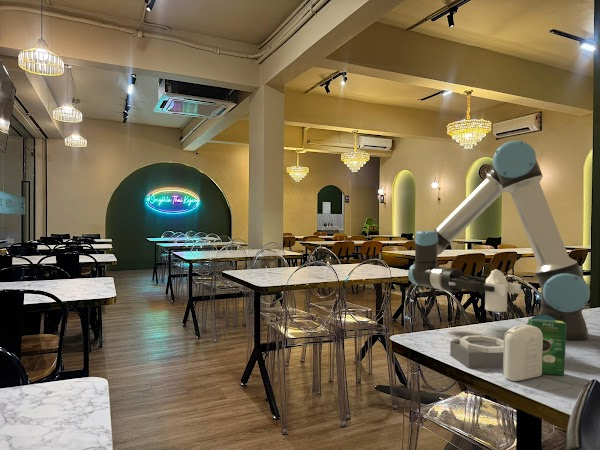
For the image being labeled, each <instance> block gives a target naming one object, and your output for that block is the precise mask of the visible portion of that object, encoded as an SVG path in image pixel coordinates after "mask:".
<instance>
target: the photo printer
mask: <svg viewBox="0 0 600 450" xmlns="http://www.w3.org/2000/svg"><path fill="white" fill-rule="evenodd" d="M503 340H504V349H503V367H502V375H503V377H504V378H505V379H507V380H509V381H512V382H519V381H525V380H528V379H533V378H538V377H540V376H542V375H543V374H542V350H543V334H542V332H541V330H540V329H539V328H537V327H535V326H531V325H527V324H520V325H516V326H512V327H511V328H510V329H508V330H506V331H505V332H504V335H503Z"/></svg>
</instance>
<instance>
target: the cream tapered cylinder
mask: <svg viewBox="0 0 600 450" xmlns="http://www.w3.org/2000/svg"><path fill="white" fill-rule="evenodd" d="M503 273H504V272H502V271H501V270H499V269H498V268H497V269H494V270H491V271H490V274H489V276H487V277H486V278H487V279H486V283H491V284H498V285H504V286H507V290H508V283H509V282H508V279H506V277H505V276H504V274H503ZM507 282H508V283H507ZM484 294H485V295H484V310H486V311H488V312H489V311H490V312H495V313H496V312H498V313H502V312H504V313H505V312H507V311H508V310H507V309H508V295H507V296H503V295H497V294H492V293H486V292H485V291H484Z"/></svg>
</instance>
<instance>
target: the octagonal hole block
mask: <svg viewBox="0 0 600 450" xmlns="http://www.w3.org/2000/svg"><path fill="white" fill-rule="evenodd" d="M449 347H450V349H449V350H450V352H449V353H450V357H452V358H453V359H454V360H456V361H458V362H459V363H460V364H462V365H463V366H465V367H466V368H468V369H483V368H486V369H487V368H489V369H490V368H503V349H504V339H501V338H498V337H492V336H486V335H479V334H478V335H465V336H464V335H463V337H461V338H456V337H455V338H451V341H450V345H449Z"/></svg>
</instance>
